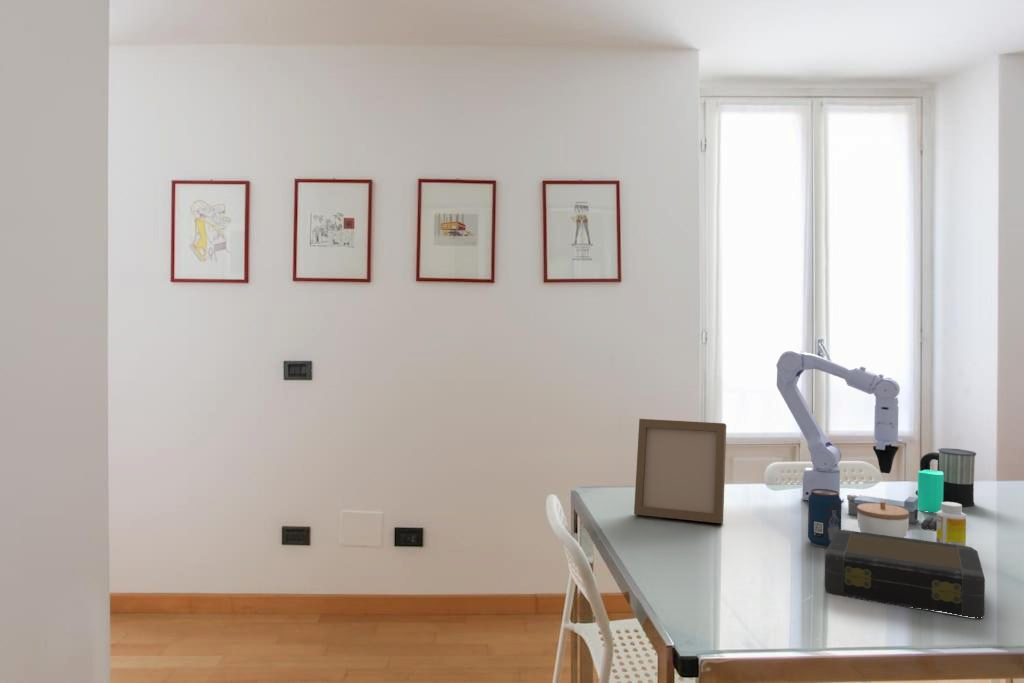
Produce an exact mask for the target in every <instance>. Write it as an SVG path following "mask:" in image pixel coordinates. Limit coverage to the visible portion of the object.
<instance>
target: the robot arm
mask: <svg viewBox="0 0 1024 683" xmlns="http://www.w3.org/2000/svg"><path fill="white" fill-rule="evenodd" d="M806 370H807V371H808V370H818V371H820V372H824V373H826V374H829V375H832V376H835V377H838V378H839V379H843V380H844V381H845V383H846V385H847V386H848V387H851V388H853V389H856V390H858V391H860V392H862V393H863V392H864V393H866V394H869V395H874V397H875V405H874V424H873V425H874V427H873V428H874V429H873V430H874V431H873V432H874V434H873V435H874V436H873V439H872V440H873V442H874V443H875V445H873V446H872V449H873V451H874V454H875V456H876V458H877V462H878V467H879V470H880V471H879V472H880V473H881V474H890V473H891V471H892V468H893V463H894V458H895V456H896V454H897V452H898V450H899V448H900V447H899V446H896V445H895V444H903V443H904V440H903V439H899V405H898V404H899V398H898V397H897V396H899V394H900V385H899V383H898V382H897V381H896V380H895V379H892V377H884V376H885V375H884V374H881V373H880V374H877V373H874V372H871V371H869V370H867V368H866V367H864V366H860V367H858V366H854V367H851V368H848V367H846V366H844V365H841V364H838V363H836V362H834V361H832V360H829V359H827V358H824V357H822V356H820V355H816V354H814V353H811V352H804V351H803V350H801V349H800V350H799V349H798V350H797V349H796V350H788V351H785V352H783V353H781V355H780V356H779V358H778V361H777V363H776V387H777V390H778V391H779V392H780V395H781V397H782V398H783V400H784V402H785V403H786V406H787V407H788V409H789V411H790V413H791V415H792V417H793V418H794V420H795V422H796V424H797V426H798V427H799V429H800V431H801V433H802V434H803V436H804V438H805V440H806V441H807V442H806V443H807V448H808V451H809V453H810V458H811V463H812V466H811V467H806V468H804V470H803V474H802V497H801V500H802V501H807V500H808V498H809V496H810V494H811V490H813V489H828V490H833V491H837V492H838V493H839V497H840V499H841V501H842V502H843V501H845V498H844V497H841V494H840V493H841V490H840V489H841V469H840V467H839V465H838V464H839V463H840V462H841V460H842V453H841V450H840V448H838V446H836V445H834V444H833V442H832V441H831V440H830V438H829V437H828V436H827V435H826V434H825V433H824V431H823V430H822V428H821V426H820V425H819V422H818V421H817V419H816V417H815V415H814V414H813V412H812V410H811V408H810V407H809V405H808V403H807V401H806V400H805V397H804V396H803V395H802V392H801V390H800V389H799V387H798V382H799V379H800V377H801V375H802V373H804V371H806Z"/></svg>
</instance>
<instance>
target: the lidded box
mask: <svg viewBox="0 0 1024 683" xmlns="http://www.w3.org/2000/svg"><path fill="white" fill-rule="evenodd" d="M846 496H847V497H846V500H847V502H848V501H854V503H857V504H866V503H877V504H880V502H881V501H883V502H885V504H887V505H893V506H897V507H901V508H904V509H906V510H908V511H909V512H914V511H915V510H916V509H917V508H918V497H917V496H916V497H915V496H909V497H907V498H906V499H905V500H904V501H902V500H896V499H889V498H882V497H876V496H869V495H868V496H867V495H855V494H846Z"/></svg>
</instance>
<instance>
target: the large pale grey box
mask: <svg viewBox="0 0 1024 683" xmlns="http://www.w3.org/2000/svg"><path fill="white" fill-rule="evenodd" d="M847 502H848V503H847V504H848V505H847V508H848V509H847V510H848V511H847V512H848V515H849V514H850V515H849V516H855V517H857V506H858V505H860V504H857V503H854V501H848V500H847ZM918 520H919V510H918V508H917V509H916V510H915V511H914V512H909V524H908V525H911V526H912V525H913V526H914V525H915V524H916V523H917V522H918Z"/></svg>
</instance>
